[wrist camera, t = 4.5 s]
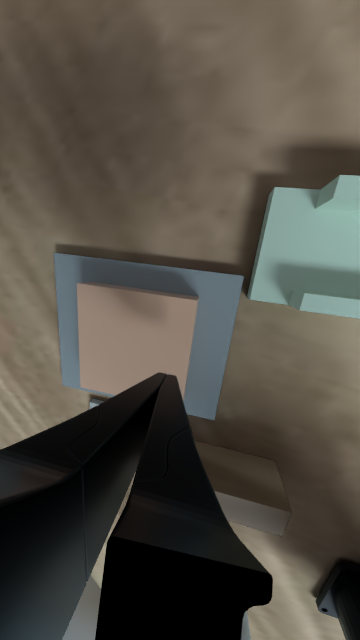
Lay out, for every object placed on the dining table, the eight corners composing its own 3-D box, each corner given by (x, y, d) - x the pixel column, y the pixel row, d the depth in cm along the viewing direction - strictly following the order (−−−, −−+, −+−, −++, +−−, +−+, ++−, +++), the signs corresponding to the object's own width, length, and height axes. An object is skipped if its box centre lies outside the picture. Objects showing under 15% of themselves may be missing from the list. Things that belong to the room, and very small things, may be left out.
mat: (214, 414, 14) (214, 420, 13) (68, 381, 15) (62, 385, 15) (242, 275, 11) (243, 275, 10) (61, 253, 13) (53, 252, 12)
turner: (262, 496, 15) (274, 553, 12) (94, 449, 17) (68, 488, 14) (281, 442, 14) (300, 492, 10) (93, 398, 16) (64, 429, 13)
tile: (181, 410, 12) (80, 387, 13) (185, 395, 13) (93, 375, 14) (197, 300, 10) (76, 283, 11) (199, 296, 11) (92, 281, 12)
